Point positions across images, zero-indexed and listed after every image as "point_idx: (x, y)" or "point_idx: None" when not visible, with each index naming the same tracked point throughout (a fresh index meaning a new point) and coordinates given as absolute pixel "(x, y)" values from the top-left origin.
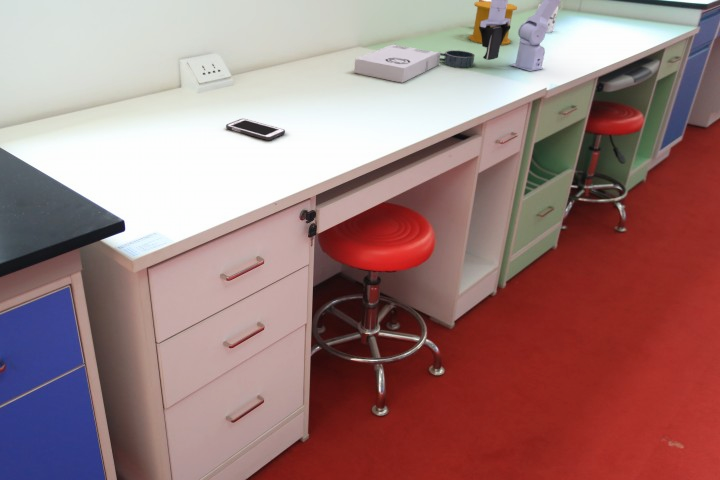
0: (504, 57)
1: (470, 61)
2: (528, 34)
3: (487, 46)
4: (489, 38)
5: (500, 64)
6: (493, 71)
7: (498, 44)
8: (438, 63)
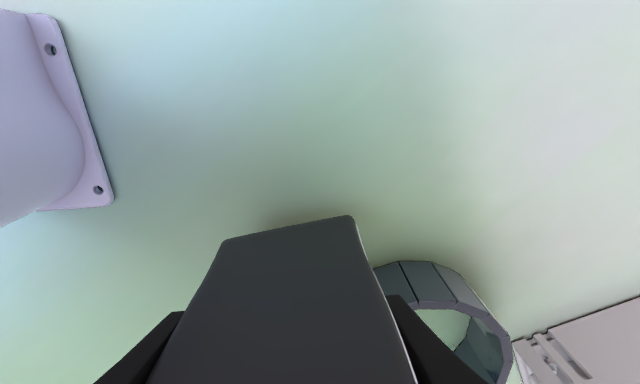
0: (24, 344)
1: (415, 282)
2: None
3: (392, 299)
4: (440, 363)
5: (159, 246)
6: (337, 141)
7: (228, 305)
8: (525, 345)
